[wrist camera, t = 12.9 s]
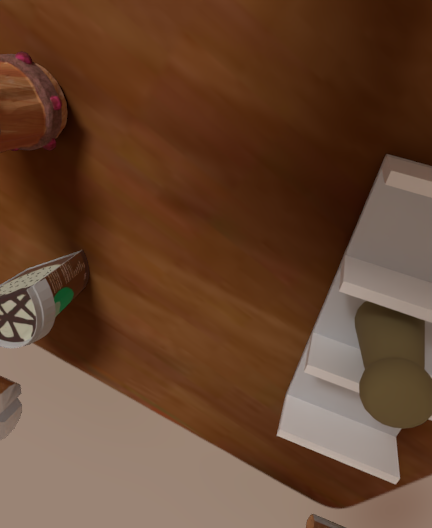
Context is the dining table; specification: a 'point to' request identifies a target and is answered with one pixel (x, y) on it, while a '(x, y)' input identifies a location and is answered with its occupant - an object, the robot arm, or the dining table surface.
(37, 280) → the food container
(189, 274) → the dining table surface
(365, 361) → the cork
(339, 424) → the slot rack
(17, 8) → the dining table surface
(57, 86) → the mug
